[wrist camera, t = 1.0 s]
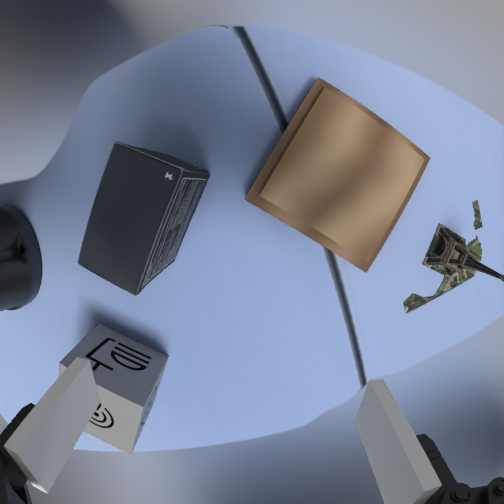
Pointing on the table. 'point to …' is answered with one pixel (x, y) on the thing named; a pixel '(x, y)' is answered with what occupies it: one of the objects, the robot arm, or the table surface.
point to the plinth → (339, 175)
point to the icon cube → (119, 384)
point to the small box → (140, 216)
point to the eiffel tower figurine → (452, 261)
